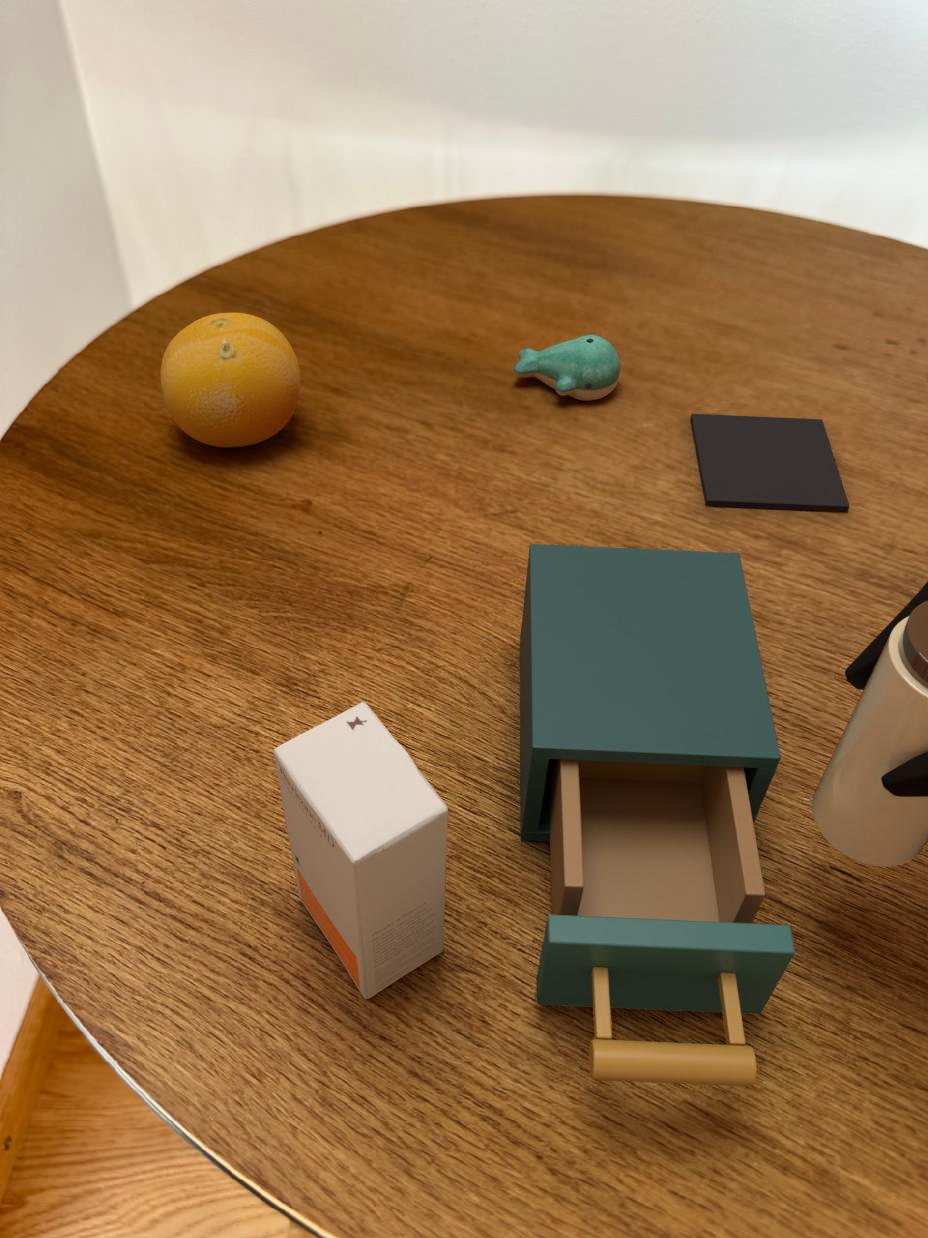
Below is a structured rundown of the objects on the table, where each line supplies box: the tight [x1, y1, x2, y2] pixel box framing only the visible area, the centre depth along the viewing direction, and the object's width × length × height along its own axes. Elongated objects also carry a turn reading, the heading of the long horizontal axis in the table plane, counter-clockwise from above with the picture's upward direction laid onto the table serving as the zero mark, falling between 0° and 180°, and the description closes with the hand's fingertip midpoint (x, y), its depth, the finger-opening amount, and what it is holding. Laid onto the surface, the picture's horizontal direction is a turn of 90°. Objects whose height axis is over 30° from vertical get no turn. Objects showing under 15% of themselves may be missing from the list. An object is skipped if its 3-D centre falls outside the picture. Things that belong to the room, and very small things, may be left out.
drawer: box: [535, 759, 796, 1088], centre depth 45 cm, size 16×9×6 cm, turn 178°
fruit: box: [160, 312, 302, 448], centre depth 69 cm, size 9×8×8 cm
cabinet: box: [519, 543, 782, 843], centre depth 53 cm, size 13×11×8 cm
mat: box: [689, 413, 850, 513], centre depth 71 cm, size 9×9×1 cm
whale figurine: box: [513, 334, 621, 402], centre depth 75 cm, size 6×7×4 cm
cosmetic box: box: [273, 701, 449, 1000], centre depth 44 cm, size 6×4×12 cm
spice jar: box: [811, 601, 928, 868], centre depth 40 cm, size 5×5×11 cm
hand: (867, 731), depth 40 cm, fingers closed on spice jar, 4 cm apart
